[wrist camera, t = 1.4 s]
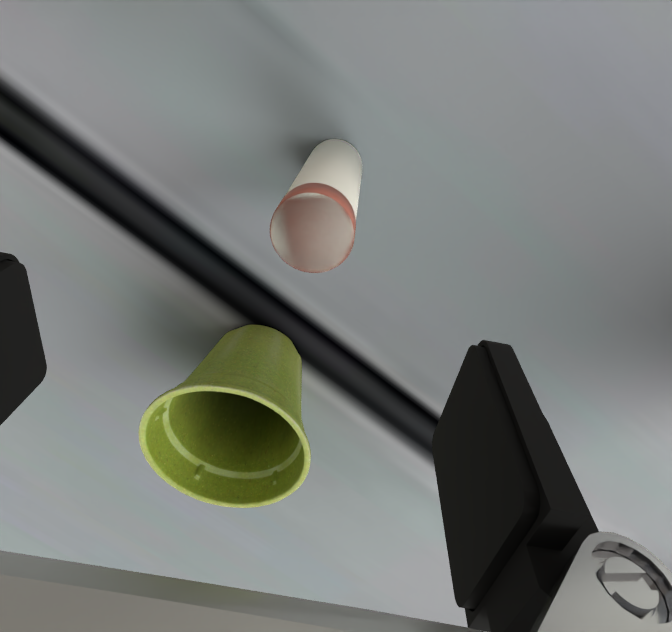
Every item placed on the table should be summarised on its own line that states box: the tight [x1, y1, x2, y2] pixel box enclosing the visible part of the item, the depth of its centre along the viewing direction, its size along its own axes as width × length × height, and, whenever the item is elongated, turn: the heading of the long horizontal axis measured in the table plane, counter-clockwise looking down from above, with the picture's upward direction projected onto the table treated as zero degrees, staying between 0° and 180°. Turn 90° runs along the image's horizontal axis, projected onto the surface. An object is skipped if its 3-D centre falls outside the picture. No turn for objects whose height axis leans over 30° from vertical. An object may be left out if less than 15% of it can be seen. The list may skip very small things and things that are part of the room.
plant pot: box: [139, 325, 311, 508], centre depth 28 cm, size 9×9×9 cm
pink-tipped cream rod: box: [270, 139, 362, 273], centre depth 20 cm, size 3×3×10 cm
